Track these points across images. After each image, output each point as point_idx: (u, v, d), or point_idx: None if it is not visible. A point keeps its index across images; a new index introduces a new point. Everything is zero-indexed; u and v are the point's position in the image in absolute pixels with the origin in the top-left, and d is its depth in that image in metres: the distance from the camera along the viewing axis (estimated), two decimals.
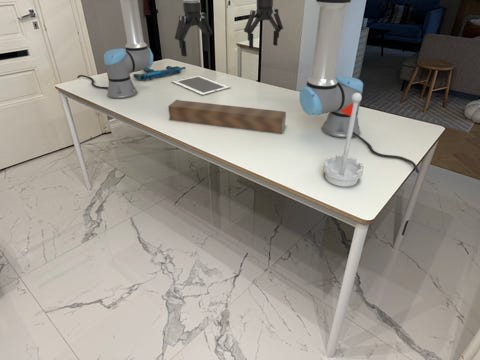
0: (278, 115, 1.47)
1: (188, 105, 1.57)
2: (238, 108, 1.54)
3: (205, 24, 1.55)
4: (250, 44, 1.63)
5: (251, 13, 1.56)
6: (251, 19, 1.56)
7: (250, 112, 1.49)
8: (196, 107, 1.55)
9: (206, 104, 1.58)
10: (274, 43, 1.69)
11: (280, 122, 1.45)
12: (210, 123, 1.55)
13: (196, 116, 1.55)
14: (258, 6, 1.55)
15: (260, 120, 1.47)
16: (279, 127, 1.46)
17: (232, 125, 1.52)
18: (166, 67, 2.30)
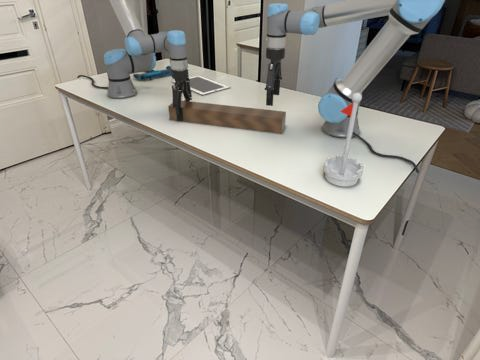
0: (278, 115, 1.47)
1: (188, 105, 1.57)
2: (238, 108, 1.54)
3: None
4: (269, 101, 1.38)
5: (271, 68, 1.31)
6: (273, 74, 1.32)
7: (250, 112, 1.49)
8: (196, 107, 1.55)
9: (206, 104, 1.58)
10: (275, 93, 1.50)
11: (280, 122, 1.45)
12: (210, 123, 1.55)
13: (196, 116, 1.55)
14: (275, 58, 1.32)
15: (260, 120, 1.47)
16: (279, 127, 1.46)
17: (232, 125, 1.52)
18: (166, 67, 2.30)
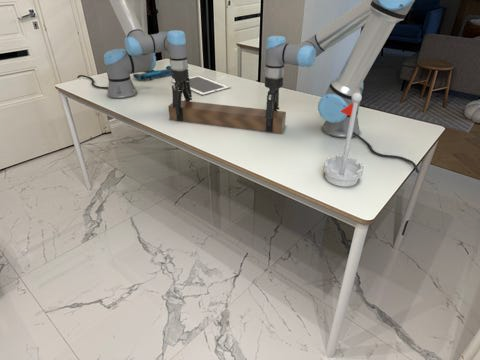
0: (278, 115, 1.47)
1: (188, 105, 1.57)
2: (238, 108, 1.54)
3: None
4: (269, 128, 1.47)
5: (270, 98, 1.38)
6: (272, 104, 1.39)
7: (250, 112, 1.49)
8: (196, 107, 1.55)
9: (206, 104, 1.58)
10: None
11: (280, 122, 1.45)
12: (210, 123, 1.55)
13: (196, 116, 1.55)
14: (273, 87, 1.38)
15: (260, 120, 1.47)
16: (279, 127, 1.46)
17: (232, 125, 1.52)
18: (166, 67, 2.30)
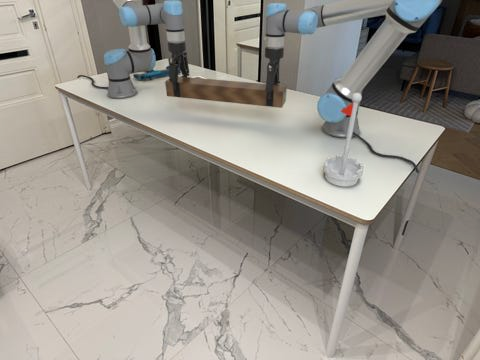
0: (279, 88, 1.42)
1: (186, 80, 1.52)
2: (237, 83, 1.49)
3: None
4: (269, 102, 1.42)
5: (270, 69, 1.33)
6: (272, 76, 1.34)
7: (249, 86, 1.44)
8: (194, 82, 1.50)
9: (204, 80, 1.52)
10: None
11: (281, 95, 1.39)
12: (208, 98, 1.50)
13: (193, 91, 1.50)
14: (273, 58, 1.33)
15: (260, 94, 1.42)
16: (280, 101, 1.41)
17: (231, 100, 1.47)
18: (166, 67, 2.30)
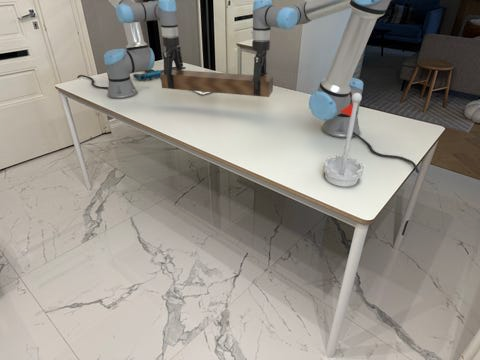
0: (265, 79, 1.52)
1: (179, 73, 1.62)
2: (227, 74, 1.59)
3: None
4: (257, 92, 1.52)
5: (257, 61, 1.43)
6: (259, 67, 1.44)
7: (238, 77, 1.54)
8: (187, 74, 1.60)
9: (196, 72, 1.63)
10: None
11: (267, 85, 1.50)
12: (200, 90, 1.60)
13: (187, 83, 1.60)
14: (260, 50, 1.43)
15: (248, 84, 1.52)
16: (266, 91, 1.51)
17: (221, 91, 1.57)
18: None
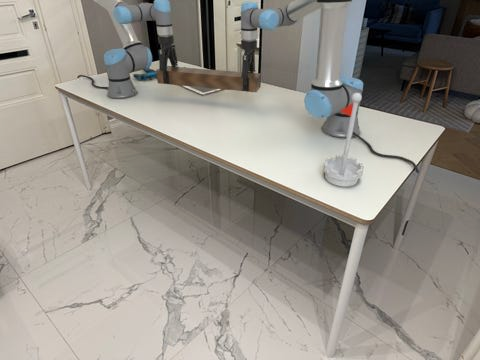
0: (253, 75, 1.65)
1: (174, 69, 1.74)
2: (218, 71, 1.71)
3: None
4: (245, 87, 1.64)
5: (245, 58, 1.55)
6: (247, 64, 1.56)
7: (228, 74, 1.67)
8: (181, 71, 1.72)
9: (190, 69, 1.75)
10: None
11: (255, 81, 1.62)
12: (193, 85, 1.73)
13: (181, 78, 1.73)
14: (248, 48, 1.56)
15: (237, 80, 1.64)
16: (254, 86, 1.64)
17: (213, 86, 1.70)
18: None
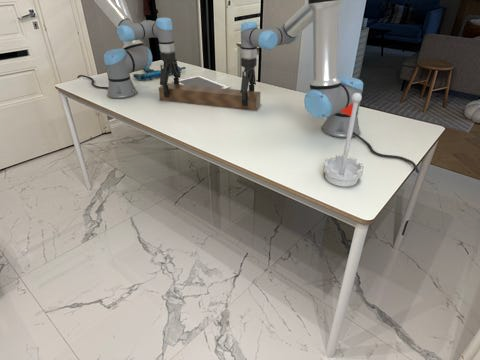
0: (253, 94, 1.70)
1: (176, 87, 1.79)
2: (219, 89, 1.76)
3: None
4: (244, 102, 1.67)
5: (244, 74, 1.59)
6: (246, 80, 1.60)
7: (229, 92, 1.72)
8: (182, 88, 1.77)
9: (191, 86, 1.80)
10: None
11: (254, 100, 1.67)
12: (195, 102, 1.77)
13: (182, 96, 1.78)
14: (248, 66, 1.60)
15: (237, 99, 1.69)
16: (254, 105, 1.69)
17: (214, 104, 1.75)
18: None
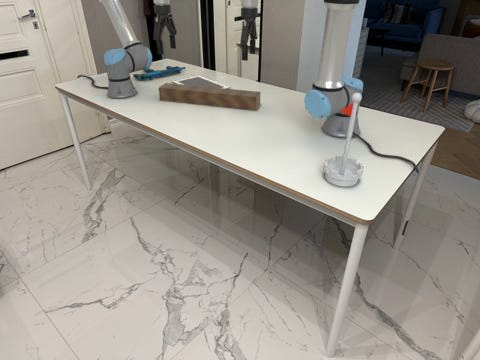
0: (253, 94, 1.70)
1: (176, 87, 1.79)
2: (219, 89, 1.76)
3: None
4: (244, 56, 1.54)
5: (245, 24, 1.47)
6: (247, 30, 1.48)
7: (229, 92, 1.72)
8: (182, 88, 1.77)
9: (191, 86, 1.80)
10: (252, 52, 1.66)
11: (254, 100, 1.67)
12: (195, 102, 1.77)
13: (182, 96, 1.78)
14: (248, 16, 1.48)
15: (237, 99, 1.69)
16: (254, 105, 1.69)
17: (214, 104, 1.75)
18: (166, 67, 2.30)
